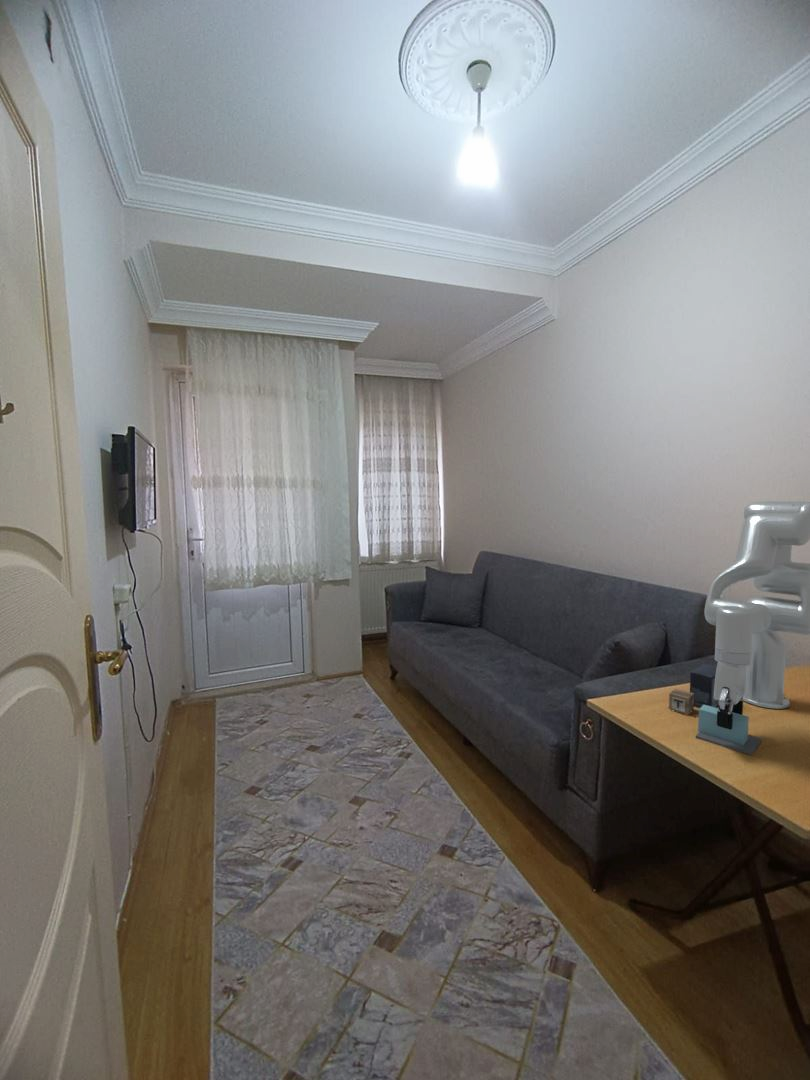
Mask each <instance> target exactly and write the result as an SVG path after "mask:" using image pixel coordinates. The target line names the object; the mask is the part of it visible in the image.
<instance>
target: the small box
mask: <svg viewBox="0 0 810 1080" xmlns="http://www.w3.org/2000/svg"><path fill="white" fill-rule="evenodd" d="M716 669H717V665H712V664H708V663H707V664H706V663H705V664H702V665H700V666H698V667H696V668H695V669H693V670H690V674H689V675H690V676H689V692H691V693H694V708H699V709H700V708H701V707H702V706H703V705H707V706H711V707H715V708H718V704H719V700H715V699H714V686H715V676H716Z"/></svg>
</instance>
